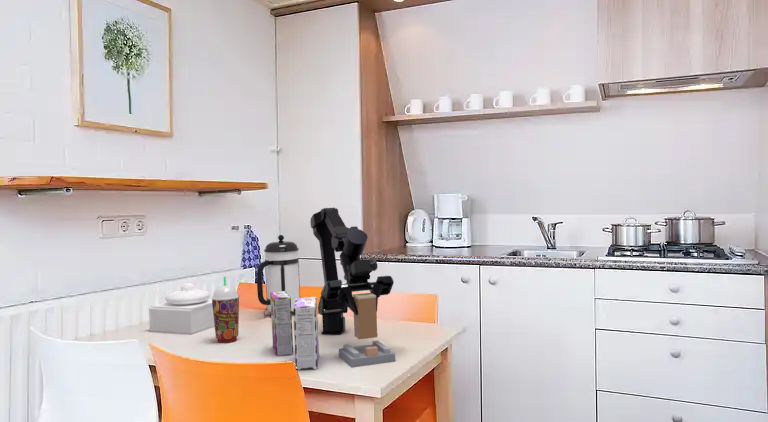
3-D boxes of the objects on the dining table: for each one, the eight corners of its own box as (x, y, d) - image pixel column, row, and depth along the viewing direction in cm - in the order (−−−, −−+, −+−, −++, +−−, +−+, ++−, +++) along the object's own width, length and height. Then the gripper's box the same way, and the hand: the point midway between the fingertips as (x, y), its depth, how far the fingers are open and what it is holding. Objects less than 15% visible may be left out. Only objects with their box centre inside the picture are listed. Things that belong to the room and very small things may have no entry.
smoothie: (216, 345, 179) (213, 279, 179) (210, 339, 187) (208, 276, 186) (244, 341, 183) (241, 277, 183) (237, 336, 191) (234, 274, 190)
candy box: (298, 356, 164) (295, 297, 164) (319, 355, 165) (317, 296, 164) (294, 370, 150) (292, 306, 150) (318, 369, 151) (315, 305, 150)
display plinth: (339, 355, 163) (338, 341, 163) (380, 350, 167) (379, 336, 167) (351, 367, 152) (351, 351, 152) (395, 361, 156) (394, 346, 156)
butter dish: (150, 332, 201) (147, 285, 201) (186, 321, 218) (184, 278, 218) (191, 335, 195) (189, 287, 194) (225, 323, 211) (223, 279, 211)
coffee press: (262, 311, 230) (259, 234, 230) (304, 309, 232) (301, 232, 231) (258, 320, 213) (255, 237, 212) (303, 318, 215) (300, 235, 214)
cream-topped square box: (354, 335, 161) (353, 294, 160) (371, 333, 162) (370, 292, 162) (359, 339, 156) (358, 296, 156) (377, 337, 158) (375, 295, 158)
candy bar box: (271, 347, 175) (269, 291, 174) (288, 345, 176) (286, 290, 176) (275, 356, 164) (273, 298, 164) (293, 354, 166) (291, 296, 165)
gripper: (325, 251, 159) (337, 298, 149) (390, 246, 165) (406, 291, 155) (319, 276, 167) (330, 323, 157) (381, 271, 173) (396, 316, 163)
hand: (366, 313), depth 158 cm, fingers closed on cream-topped square box, 5 cm apart
